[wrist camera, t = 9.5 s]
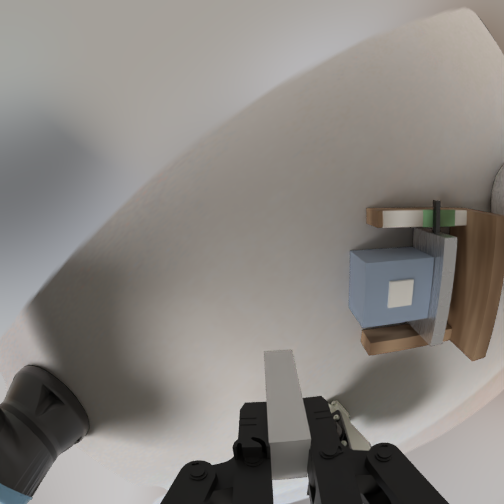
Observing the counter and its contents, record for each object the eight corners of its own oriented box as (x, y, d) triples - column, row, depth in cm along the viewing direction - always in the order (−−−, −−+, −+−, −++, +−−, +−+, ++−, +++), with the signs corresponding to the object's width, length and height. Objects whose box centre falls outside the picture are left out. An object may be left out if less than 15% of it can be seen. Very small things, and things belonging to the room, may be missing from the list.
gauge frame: (360, 341, 30) (384, 383, 22) (366, 207, 27) (402, 216, 19) (450, 326, 29) (485, 357, 22) (462, 207, 26) (509, 215, 18)
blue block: (348, 306, 29) (363, 329, 24) (349, 250, 28) (367, 264, 23) (406, 299, 29) (428, 319, 24) (410, 246, 28) (435, 258, 22)
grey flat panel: (406, 320, 29) (430, 346, 23) (413, 198, 26) (445, 202, 20) (417, 319, 29) (442, 343, 23) (425, 198, 26) (458, 202, 20)
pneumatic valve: (324, 376, 31) (346, 453, 19) (365, 424, 33) (389, 489, 21) (285, 399, 32) (291, 477, 20) (331, 442, 34) (345, 508, 22)
